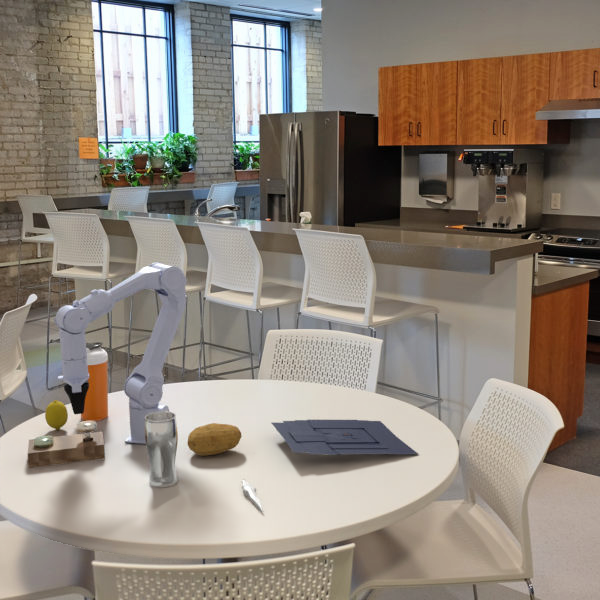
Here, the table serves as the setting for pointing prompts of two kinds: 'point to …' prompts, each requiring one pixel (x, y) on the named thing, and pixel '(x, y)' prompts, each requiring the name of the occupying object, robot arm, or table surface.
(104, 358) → the shaker bottle
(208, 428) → the potato
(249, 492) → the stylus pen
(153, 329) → the robot arm
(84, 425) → the silver knob
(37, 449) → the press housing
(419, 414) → the table surface
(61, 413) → the lemon
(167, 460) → the beer glass
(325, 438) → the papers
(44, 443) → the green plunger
